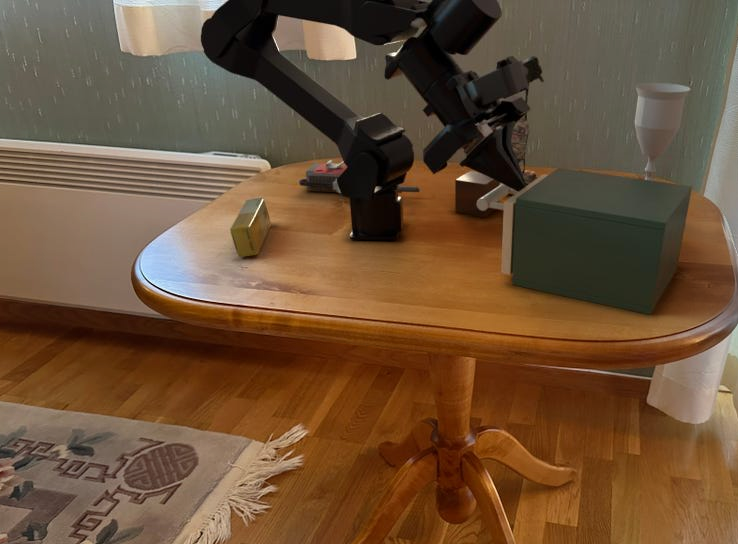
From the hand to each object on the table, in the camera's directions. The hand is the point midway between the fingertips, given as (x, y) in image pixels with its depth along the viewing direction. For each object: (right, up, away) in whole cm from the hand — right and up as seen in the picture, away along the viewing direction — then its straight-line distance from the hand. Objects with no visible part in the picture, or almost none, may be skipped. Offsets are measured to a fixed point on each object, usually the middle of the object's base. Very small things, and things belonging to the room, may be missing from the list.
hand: (522, 188), depth 81 cm
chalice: (+20, +1, +20) cm, 28 cm away
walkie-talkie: (-24, +7, +30) cm, 39 cm away
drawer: (+5, -9, +2) cm, 10 cm away
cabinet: (+9, -11, +1) cm, 14 cm away
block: (-5, +2, +21) cm, 22 cm away
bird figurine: (+1, +8, +31) cm, 32 cm away
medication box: (-36, -5, +10) cm, 37 cm away
